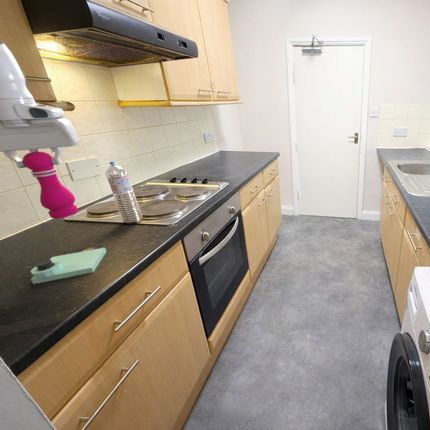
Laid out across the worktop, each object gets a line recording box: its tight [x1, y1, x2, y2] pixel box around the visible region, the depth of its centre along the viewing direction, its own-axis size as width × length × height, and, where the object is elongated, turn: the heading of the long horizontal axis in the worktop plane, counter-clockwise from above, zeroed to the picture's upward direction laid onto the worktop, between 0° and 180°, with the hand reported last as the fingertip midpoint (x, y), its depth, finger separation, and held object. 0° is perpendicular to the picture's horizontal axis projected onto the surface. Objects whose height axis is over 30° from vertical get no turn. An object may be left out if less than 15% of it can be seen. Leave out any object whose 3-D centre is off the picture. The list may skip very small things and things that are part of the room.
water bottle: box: [104, 160, 144, 225], centre depth 105 cm, size 7×7×25 cm
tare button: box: [35, 259, 54, 271], centre depth 76 cm, size 3×3×2 cm
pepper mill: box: [22, 149, 79, 220], centre depth 74 cm, size 7×7×20 cm
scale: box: [30, 247, 108, 285], centre depth 81 cm, size 14×13×4 cm
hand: (41, 165), depth 72 cm, fingers closed on pepper mill, 6 cm apart
